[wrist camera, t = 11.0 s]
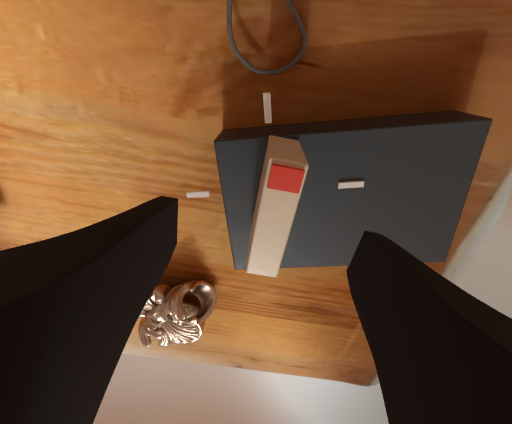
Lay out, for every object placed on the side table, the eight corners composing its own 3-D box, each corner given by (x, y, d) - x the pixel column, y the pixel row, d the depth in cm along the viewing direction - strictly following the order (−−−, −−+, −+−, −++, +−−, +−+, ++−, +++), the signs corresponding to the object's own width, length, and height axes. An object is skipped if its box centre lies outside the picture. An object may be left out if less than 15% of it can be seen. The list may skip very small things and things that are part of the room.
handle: (275, 234, 16) (277, 282, 13) (250, 229, 16) (244, 276, 13) (299, 140, 13) (310, 166, 10) (269, 134, 13) (269, 159, 10)
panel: (213, 246, 21) (204, 272, 18) (182, 96, 16) (163, 102, 13) (421, 236, 20) (447, 264, 17) (465, 69, 14) (513, 69, 11)
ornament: (171, 250, 21) (154, 282, 18) (232, 295, 23) (227, 330, 20) (121, 297, 24) (99, 332, 21) (180, 333, 26) (167, 369, 23)
